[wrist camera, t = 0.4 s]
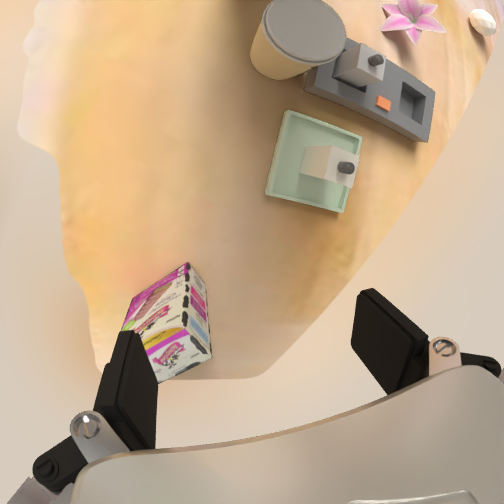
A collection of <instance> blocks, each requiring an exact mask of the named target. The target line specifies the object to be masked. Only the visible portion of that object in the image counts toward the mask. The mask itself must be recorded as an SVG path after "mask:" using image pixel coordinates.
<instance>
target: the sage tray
mask: <svg viewBox="0 0 504 504" xmlns="http://www.w3.org/2000/svg"><path fill="white" fill-rule="evenodd" d="M362 139H363V137H361V136H359V135H356V134H354V133H352V132H349V131H347V130H344V129H342V128H339V127H337V126H334V125H331V124H329V123H326V122H323V121H321V120H318V119H315V118H312V117H309V116H307V115H304V114H301V113H298V112H295V111H291V110H286V111H284V115H283V119H282V123H281V127H280V131H279V135H278V139H277V143H276V147H275V151H274V155H273V159H272V163H271V167H270V171H269V175H268V179H267V183H266V188H265V192H264V193H265V194H266V195H269V196H274V197H278V198H282V199H287V200H291V201H295V202H299V203H304V204H308V205H312V206H316V207H320V208H324V209H328V210H331V211H335V212H339V213H343V212H344V209H345V205H346V202H347V198H348V195H349V191H350V187H348V186H344V185H341V184H337V183H334V182H330V181H327V180H323V179H320V178H316V177H313V176H309V175H306V174H302V173H299V171H300V167H301V163H302V159H303V155H304V151H305V147H306V146H334V147H337V148H340V149H342V150H345V151H348V152H350V153H353V154H355V155H358V156H359V152H360V148H361V143H362Z"/></svg>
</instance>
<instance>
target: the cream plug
mask: <svg viewBox="0 0 504 504" xmlns="http://www.w3.org/2000/svg"><path fill="white" fill-rule="evenodd" d="M359 159H360V156H358V155H355V154H353V153H350V152H348V151H345V150H342V149H340V148H337V147H334V146H306V147H305V151H304V155H303V159H302V163H301V167H300V171H299V173H302V174H306V175H309V176H313V177H316V178H320V179H323V180H327V181H330V182H334V183H337V184H341V185H344V186H348V187H351V188H352V186H353V183H354V179H355V175H356V171H357V167H358V163H359Z"/></svg>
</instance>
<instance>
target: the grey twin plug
mask: <svg viewBox="0 0 504 504" xmlns="http://www.w3.org/2000/svg"><path fill="white" fill-rule="evenodd" d="M385 62H386V56H384V55H382V54H381V53H379V52H377V51H375V50H374V49H372V48H370V47H368V46H366V45H364V44H363V43H360V44H358V45H356V46H354V47H352V48H350V49H348V50H346V51H345V52H343V53H341V54H340V55H339V56H338V57H337V58H336V60H335V65H334V70H333V74H332V78H333V79H336V80H338V81H340V82H342V83H345V84H347V85H349V86H351V87H353V88H358V87H362V86H365V85H369V84H373V83H377V82H381V81H383V75H384V69H385Z"/></svg>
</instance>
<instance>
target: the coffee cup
mask: <svg viewBox="0 0 504 504" xmlns="http://www.w3.org/2000/svg"><path fill="white" fill-rule="evenodd" d="M345 42H346V30H345V26H344V24H343V22H342V20H341V18H340V17H339V15H338V14H337V13H336V12H335V10H334V9H333V8H331V7H330V6H329V5H328V4H326V3H325V2H323V1H321V0H273V1H272V2H271V3H270V4H269V5H268V6H267V7H266V9H265V10H264V13H263V16H262V20H261V22H260V25H259V27H258V30H257V32H256V35H255V37H254V40H253V42H252V45H251V49H250V59H251V62H252V64H253V66H254V67H255V69H256V70H257V71H258V72H259V73H261V74H262V75H264V76H266V77H268V78H271V79H276V80H284V79H289V78H291V77H294V76H296V75H298V74H301V73H303V72H305V71H308V70H310V69H312V68H314V67H317V66H319V65H321V64H325V63H328V62H331V61H333V60H334V59H336V58H337V57H338V56H339V55H340V54H341V52H342V51H343V49H344V46H345Z"/></svg>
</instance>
